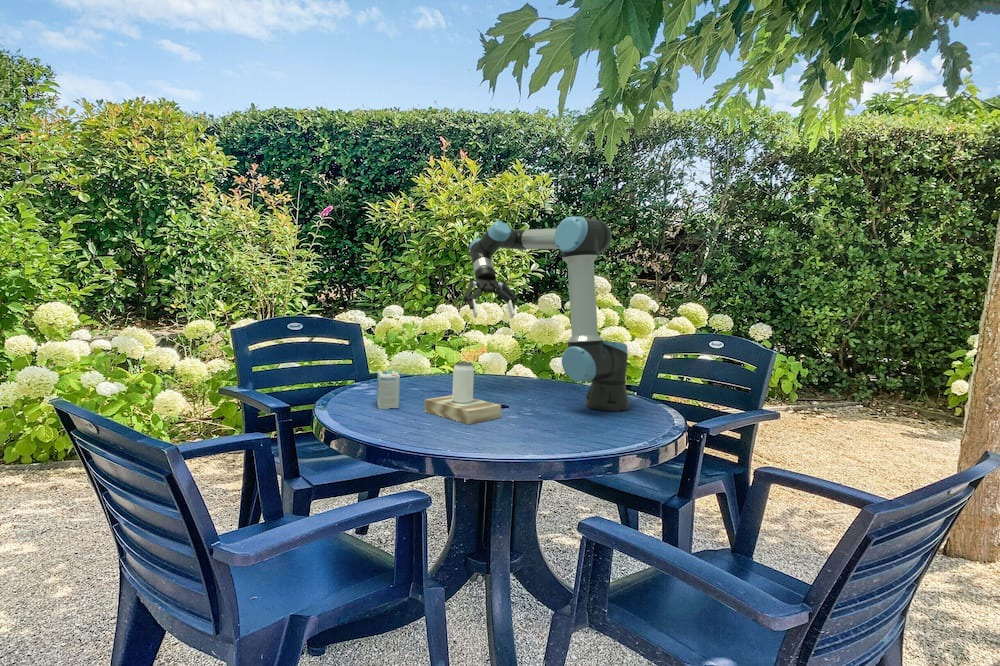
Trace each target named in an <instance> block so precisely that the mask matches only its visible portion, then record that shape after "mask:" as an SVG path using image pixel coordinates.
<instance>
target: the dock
mask: <svg viewBox="0 0 1000 666" xmlns="http://www.w3.org/2000/svg"><path fill="white" fill-rule="evenodd" d="M423 409H424V411H423V412H424V413H426V412H428V413H427V414H430V413H431V414H430V415H433V414H434V415H433V416H437V415H438V416H437V417H440V416H442V417H441V418H444V417H446V418H445V419H447V418H449V419H448V420H451V419H452V420H451V421H454V420H456V421H455V422H458V421H459V422H458V423H461V422H462V424H465V425H468V424H469V425H473V424H477V422H478V423H481V422H482V421H483V422H486V421H491V419H492V420H496V419H501V414H502V413H501V411H502V405H501V404H498V403H496V402H494V403H493V402H490V401H485V400H482V399H479V398H478V399H477V398H474V397H473V401H472V402H471V403H466V404H462V403H455V402H453V400H452V394H451V395H446V396H439V397H433V398H425V399H424V408H423Z"/></svg>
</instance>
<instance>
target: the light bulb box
mask: <svg viewBox="0 0 1000 666" xmlns="http://www.w3.org/2000/svg"><path fill="white" fill-rule="evenodd" d="M376 372H377V373H376V376H377V378H376V404H377V408H379V409H378V410H390V409H389V408H400V388H401V387H400V384H401V383H400V381H401V376H400V374H399V373H398V371H397V370H377V371H376Z"/></svg>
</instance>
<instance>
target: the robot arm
mask: <svg viewBox="0 0 1000 666" xmlns="http://www.w3.org/2000/svg"><path fill="white" fill-rule="evenodd" d="M611 241H612V231H611V228H610V227H609V225H607V223H606V222H604V221H602V220H600V219H595V218H589V217H583V216H574V215H572V216H567V217H565V218H564V219H562V220H561V221H560V222H559V224H558V225H557V227H556V228H536V229H535V228H533V229H532V228H531V229H513V228H510V226H509V225H508V224H507V223H506V222H504V221H501V220H496V221H495V222H493V224H492V225H491V226H490V227H488V229H487V231H486V232H485V233H484V234H483V236H482V237H480V238H479V237H478V238H476V239H474V240H472V241H471V242H470V244H469V245H468V246H469V247H468V248H469V255H470V258H471V263H472V268H473V272H474V277H475V281H474V280H473V279H471V278H470V279H469V282H468V287H467V289H466V291H465V293H464V295H463V298H462V302H463V303H466V302H467V305H468V307H469V309H470V310H472V315H473V319H477V316H478V314H479V313H478V309H477V308H478V307H477V304H476V298H478V296H479V295H480V294H482V293H484V294H485V293H486V294H487V293H489V294H494V295H495V296H498V297H499V298H500V299H502V300H503V301H504V302H506V303H507V304H506V305H507V310H508V313H509V317H510V319H511V320H512V319H514V316H515V309H516V305H515V304H517V302H518V300H519V297H518V296H517V295H516V294H515V292H513V290H512V289H511V288H510V287H509V286H508V285H507V283H506V281H505V280H502V281H501V282H499V281H498V280H497V276H496V273H495V272H496V271H495V268H494V265H493V264H494V263H493V260H492V257H493V256H494V254H495V253H497V252H498V250H499V249H508V250H509V249H511V250H518V251H525V250H560V251H561V254H562V261H564V262H565V263H566V264H567V276H568V277H567V279H568V292H569V293H568V295H569V296H568V297H569V308H570V309H569V311H570V312H569V313H570V326H571V327H570V328H571V336H570V338H568V340H567V348H566V349H565V350H564V352H563V354H562V356H561V367H562V370H563V371H564V373H565V375H567V376H568V377H569V378H570V379H571V380H572V381H575V382H579V383H582V382H585V383H586V382H591V384H590V386H589V389H588V392H587V393H586V394H587V395H586V397H585V407H586V408H587V407H588V408H589V409H590V408H591V409H594V410H597V409H598V411H605V410H606V411H608V412H621V411H620V410H623V411H627V410H629V409H630V399H629V396H628V395H629V394H628V391H627V387H626V381H627V380H626V379H627V367H628V366H627V365H628V355H629V354H628V345H627V344H626V343H624V342H617V341H612V340H604V339H603V338H602V337H601V336H600V335H599V333H598V316H597V315H598V313H597V300H596V299H597V298H596V296H597V295H596V281H595V264H594V263H595V261H596V259H597V258H598V257H599V255H598V254H601V253H602V252H605V251H606V250H607V249H608V248H609V247H610V245H611ZM475 286H476V287H477V289H476V290H475V291H474V292H473V293H472V294H471V292H472V289H473V288H474V287H475ZM470 294H471V295H470ZM628 408H629V409H628ZM626 409H627V410H626Z"/></svg>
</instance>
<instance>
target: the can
mask: <svg viewBox="0 0 1000 666" xmlns="http://www.w3.org/2000/svg"><path fill="white" fill-rule="evenodd" d="M474 378H475V367H474V363H472V362H455V363H454V367H453V374H452V394H451V395H452V400H453V402H455V403H462V404H466V403H471V402H472V401H473V398H474V380H475V379H474Z"/></svg>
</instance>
